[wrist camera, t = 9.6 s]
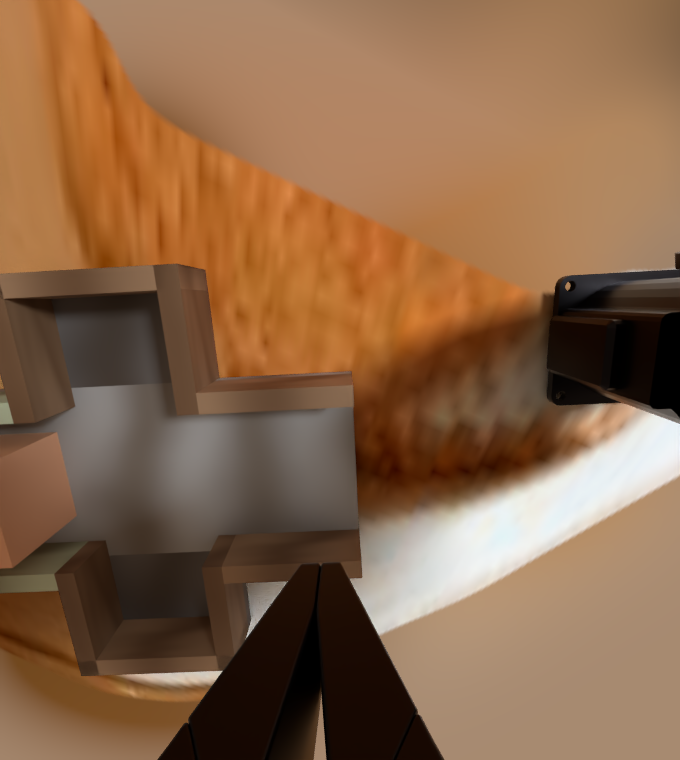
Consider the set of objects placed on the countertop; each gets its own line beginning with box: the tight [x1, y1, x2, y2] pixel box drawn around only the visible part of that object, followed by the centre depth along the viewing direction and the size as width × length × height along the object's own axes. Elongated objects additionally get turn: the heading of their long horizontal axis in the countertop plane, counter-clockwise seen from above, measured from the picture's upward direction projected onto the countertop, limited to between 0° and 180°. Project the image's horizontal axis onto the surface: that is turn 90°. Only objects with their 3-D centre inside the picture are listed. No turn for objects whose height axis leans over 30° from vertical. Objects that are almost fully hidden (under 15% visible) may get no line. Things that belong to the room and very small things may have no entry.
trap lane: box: [0, 264, 362, 676], centre depth 19 cm, size 23×21×3 cm
